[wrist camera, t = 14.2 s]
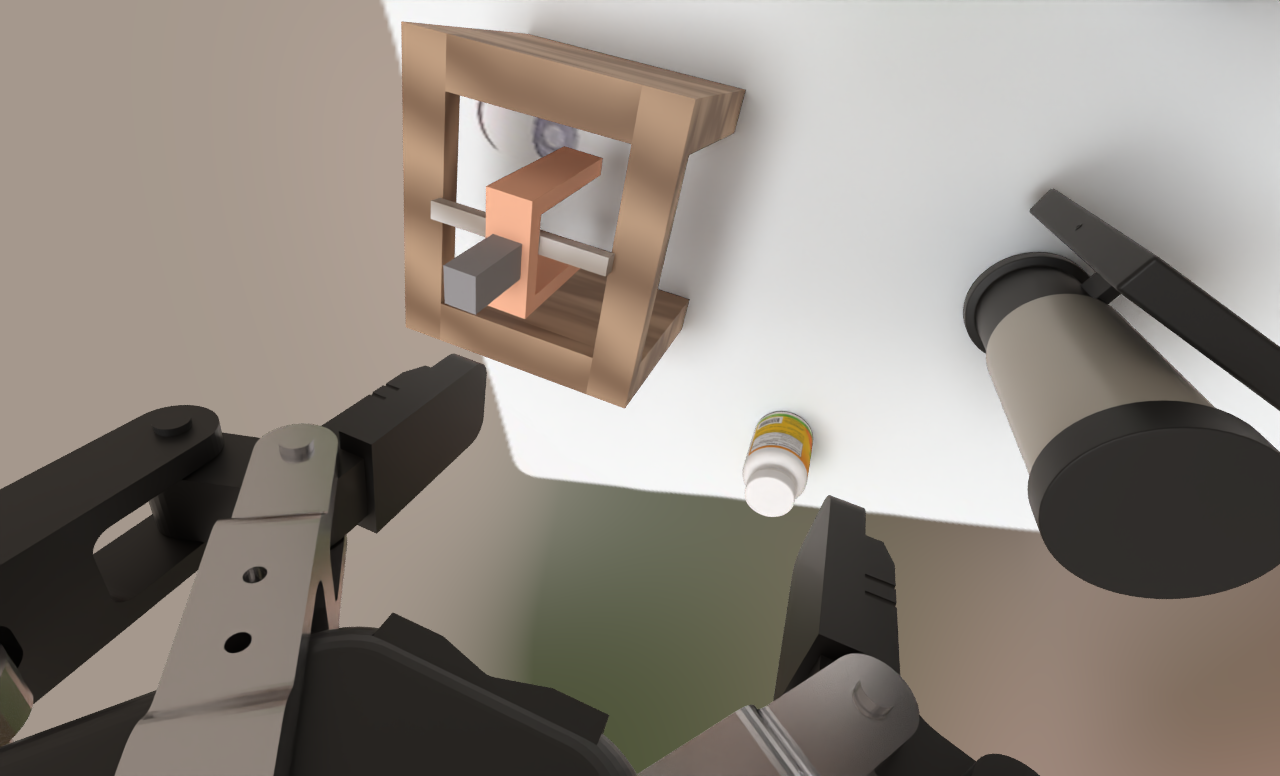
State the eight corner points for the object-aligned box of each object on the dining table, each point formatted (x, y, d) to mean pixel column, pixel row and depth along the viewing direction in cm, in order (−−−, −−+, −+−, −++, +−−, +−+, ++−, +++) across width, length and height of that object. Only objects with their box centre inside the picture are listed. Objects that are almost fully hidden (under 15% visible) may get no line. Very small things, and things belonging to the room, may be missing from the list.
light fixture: (918, 301, 46) (957, 490, 25) (1040, 179, 40) (1223, 299, 19) (1041, 392, 46) (1180, 653, 25) (1182, 285, 40) (1515, 515, 19)
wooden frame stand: (527, 33, 46) (389, 20, 33) (745, 89, 43) (690, 99, 30) (507, 270, 57) (396, 331, 44) (681, 329, 54) (619, 415, 40)
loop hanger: (564, 146, 42) (432, 213, 30) (602, 158, 41) (484, 231, 30) (554, 248, 47) (438, 340, 35) (589, 260, 46) (483, 357, 35)
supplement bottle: (797, 467, 56) (786, 534, 48) (746, 443, 57) (725, 505, 49) (823, 425, 53) (815, 489, 45) (769, 400, 54) (751, 459, 46)
